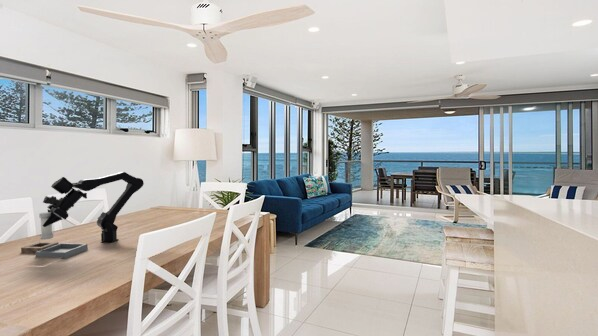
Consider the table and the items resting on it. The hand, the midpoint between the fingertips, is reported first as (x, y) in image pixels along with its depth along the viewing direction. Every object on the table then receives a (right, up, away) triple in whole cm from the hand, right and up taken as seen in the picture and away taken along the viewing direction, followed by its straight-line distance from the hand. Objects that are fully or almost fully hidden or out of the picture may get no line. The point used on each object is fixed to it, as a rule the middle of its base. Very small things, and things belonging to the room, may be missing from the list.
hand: (42, 225), depth 151 cm
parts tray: (+9, -13, 0) cm, 16 cm away
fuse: (+1, -6, +1) cm, 6 cm away
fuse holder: (-4, -13, +4) cm, 14 cm away
